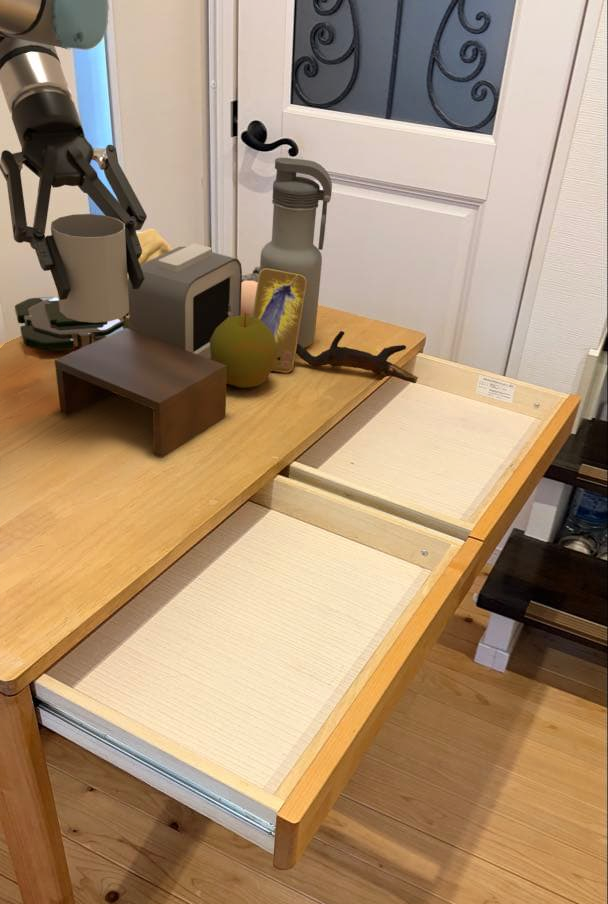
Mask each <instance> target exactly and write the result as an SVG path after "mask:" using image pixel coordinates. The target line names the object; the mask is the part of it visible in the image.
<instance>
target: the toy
mask: <svg viewBox="0 0 608 904" xmlns="http://www.w3.org/2000/svg"><path fill="white" fill-rule="evenodd" d="M344 335H345V331H342V330H340V331H339V332H338V334H337V335H336V336H335V337H334V338H333V340H332V342H331V344H330V346H329V348H328V349H326V350H324V351H322V352H321V353H319V355H318V354H317V355H316V356H315V355H312V354H311V353H310V352H309V351H307V349H305V348H303V347H301V346H300V345H299V344H298V343H297V348H296V352H295V355H297V356H298V357H299V358H300V359H301V360H302V361H304V362H305V363H307V364H308V365H309V366H311V367H313V368H316V369H317V368H320V367H322V366H327V365H328V366H332V367H335V366H339V367H344V368H345V367H347V368H354V369H361V370H365V371H371V372H372V373H374V374H375V375H377V376H379V375H381V374H382V373H383V374H384V375H385V376H386V377H393V378H397V379H400V380H402V381H406V382H408V383H409V382H410V383H412V384H417V381H418V379H419V377H418V376H416V375H414V374H413V373H410V372H408V371H406V370H405V369H402V368H401V367H400V366H398V365H396V364H394V363H393V362H390V361H388V359H389V357H391V356H392V355H394V354H395V353H400V352H401V351H404V350H407V346H406V344H405V345H404V344H401V345H391V346H388V347H384V348H383V349H382V350H380V353H378V354H377V355H375V354H372V353H370V352H368V351H365V350H359V349H357V348H356V349H355V348H350V347H347V346H338V345H339V343H340V341H341V339H343V337H344Z"/></svg>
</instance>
